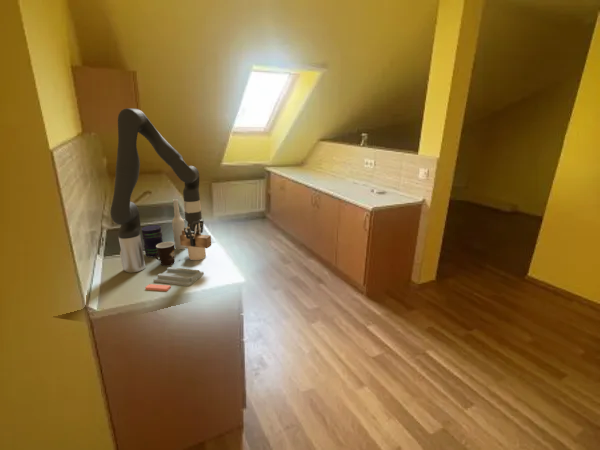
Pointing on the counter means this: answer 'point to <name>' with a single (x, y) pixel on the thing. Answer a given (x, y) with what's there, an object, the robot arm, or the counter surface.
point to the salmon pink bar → (158, 287)
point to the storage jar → (151, 239)
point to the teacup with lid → (196, 253)
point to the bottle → (177, 226)
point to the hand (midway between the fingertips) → (195, 244)
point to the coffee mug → (166, 253)
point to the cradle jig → (179, 276)
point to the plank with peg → (196, 240)
